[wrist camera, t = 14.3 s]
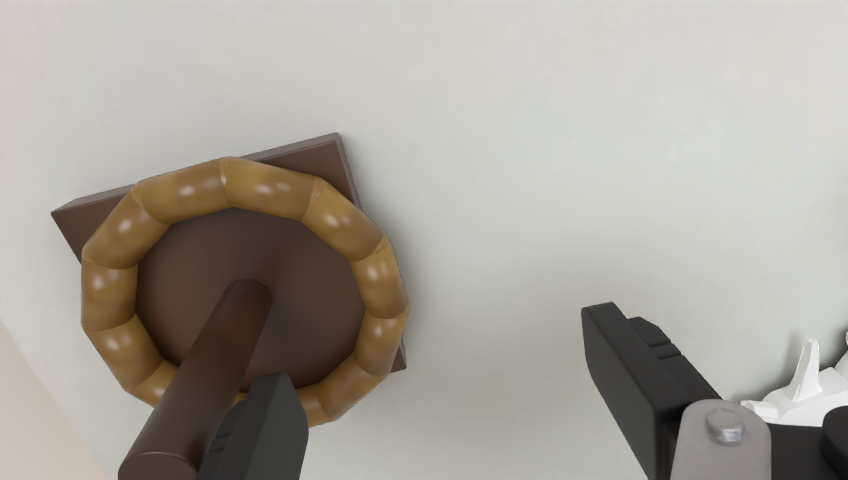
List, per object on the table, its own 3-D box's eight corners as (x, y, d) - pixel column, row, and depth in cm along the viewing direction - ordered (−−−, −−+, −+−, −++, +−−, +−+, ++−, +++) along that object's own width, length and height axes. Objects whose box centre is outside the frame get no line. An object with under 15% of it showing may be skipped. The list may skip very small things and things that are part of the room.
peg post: (190, 402, 21) (64, 653, 13) (74, 199, 17) (-231, 362, 9) (404, 348, 21) (425, 562, 13) (338, 131, 17) (300, 227, 8)
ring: (183, 442, 20) (168, 474, 19) (31, 207, 16) (-4, 224, 14) (433, 375, 20) (438, 402, 19) (353, 117, 16) (351, 125, 14)
